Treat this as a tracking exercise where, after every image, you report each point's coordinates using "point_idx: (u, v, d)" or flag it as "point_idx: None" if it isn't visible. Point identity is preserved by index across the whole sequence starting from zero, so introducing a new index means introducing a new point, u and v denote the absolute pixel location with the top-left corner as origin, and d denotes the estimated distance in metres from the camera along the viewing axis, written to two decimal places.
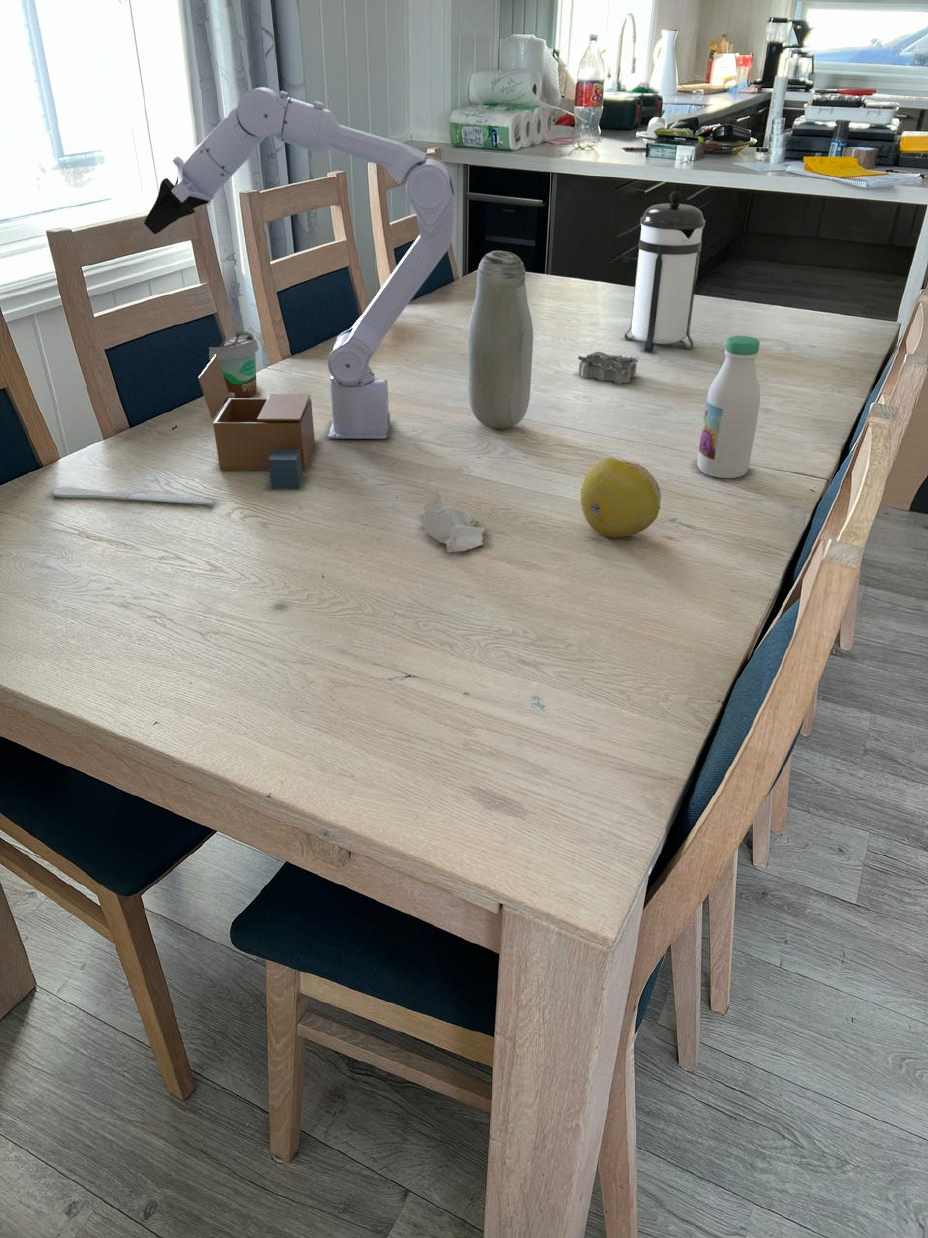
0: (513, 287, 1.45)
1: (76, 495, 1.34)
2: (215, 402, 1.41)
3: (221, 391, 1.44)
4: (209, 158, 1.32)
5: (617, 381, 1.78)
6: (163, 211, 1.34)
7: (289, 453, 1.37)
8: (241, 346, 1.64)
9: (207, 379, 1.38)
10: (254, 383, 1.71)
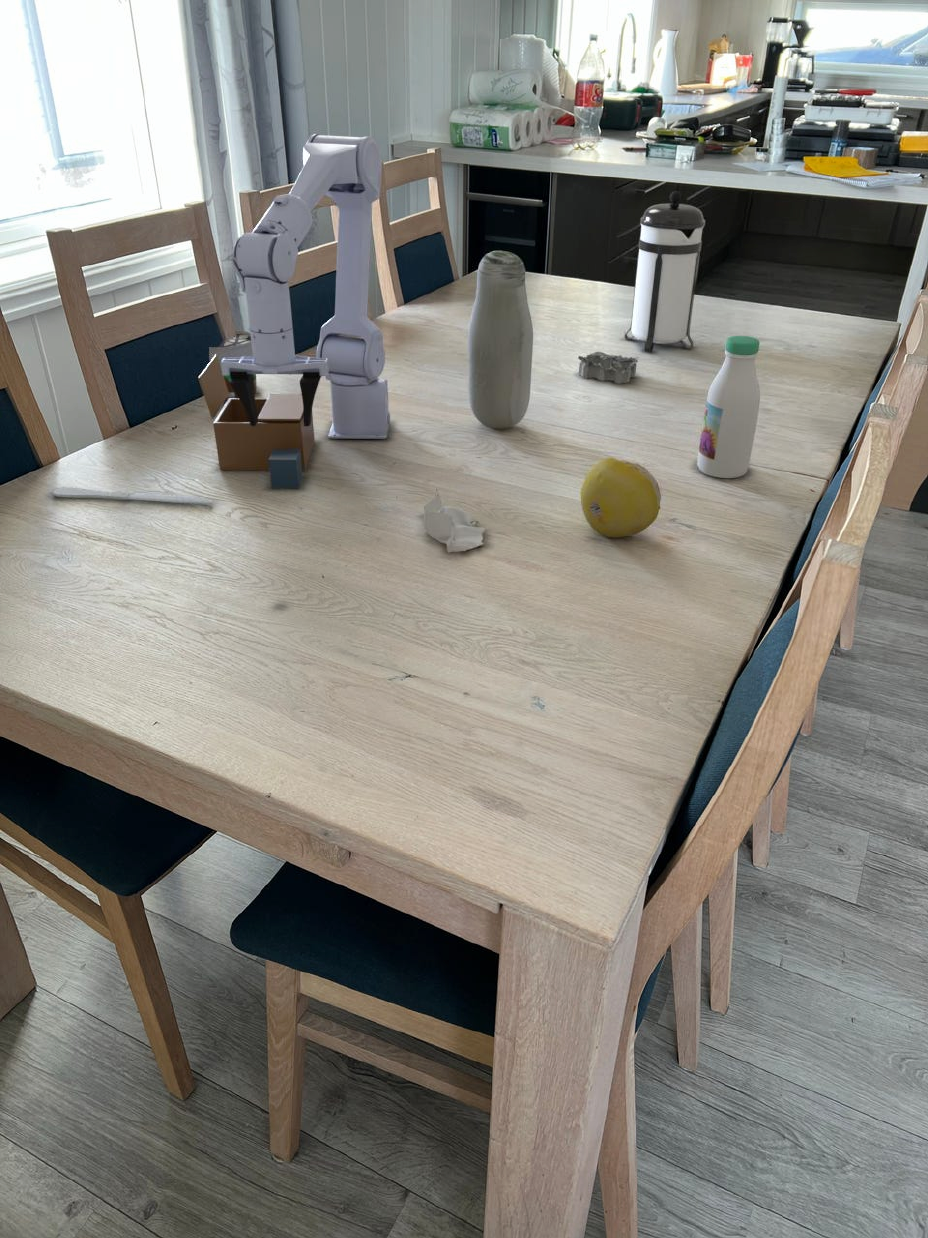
0: (513, 287, 1.45)
1: (76, 495, 1.34)
2: (215, 402, 1.41)
3: (221, 391, 1.44)
4: (291, 331, 1.27)
5: (617, 381, 1.78)
6: None
7: (289, 453, 1.37)
8: (241, 346, 1.64)
9: (207, 379, 1.38)
10: (254, 383, 1.71)
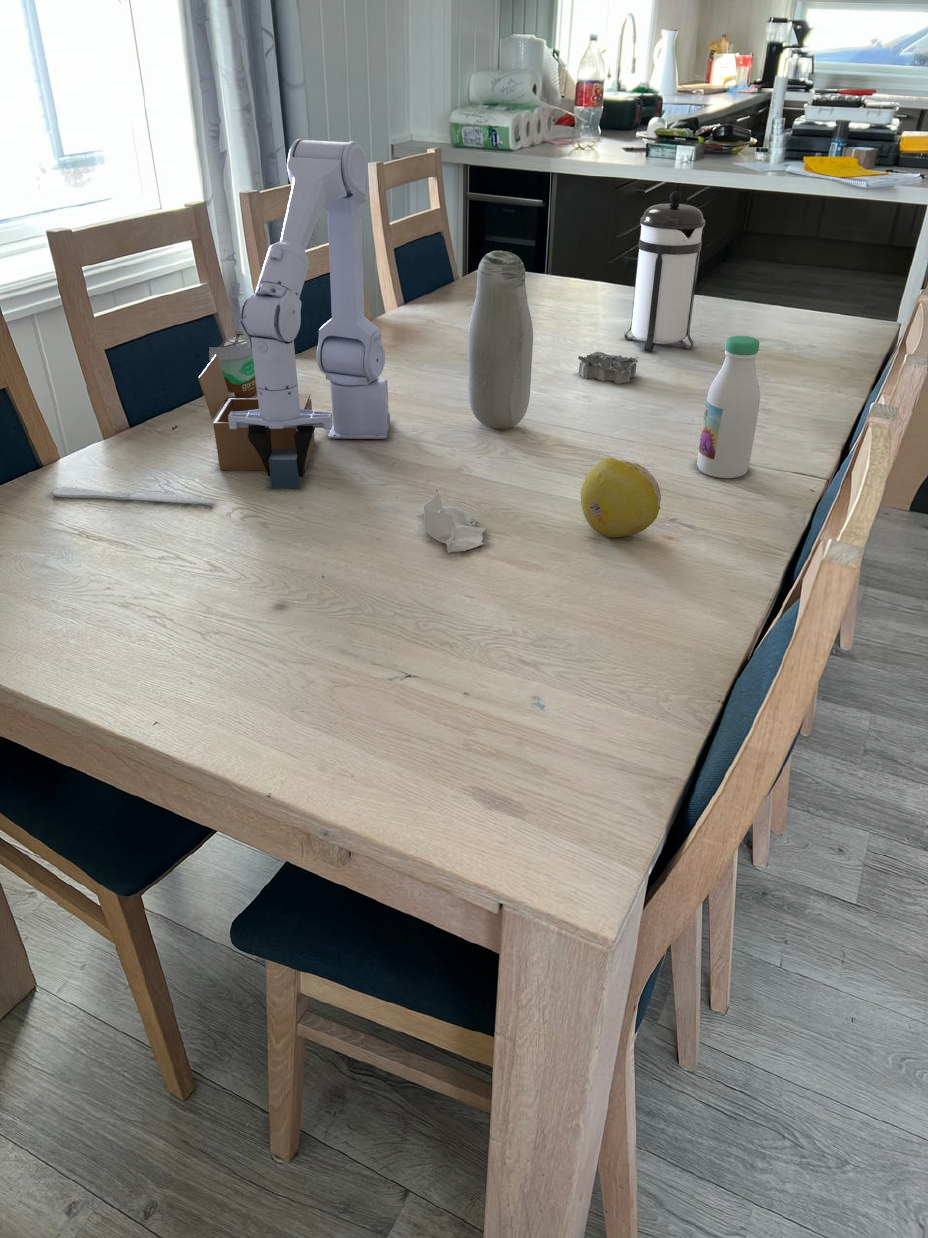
0: (513, 287, 1.45)
1: (76, 495, 1.34)
2: (215, 402, 1.41)
3: (221, 391, 1.44)
4: (296, 387, 1.31)
5: (617, 381, 1.78)
6: None
7: (290, 453, 1.37)
8: (241, 346, 1.64)
9: (207, 379, 1.38)
10: (254, 383, 1.71)
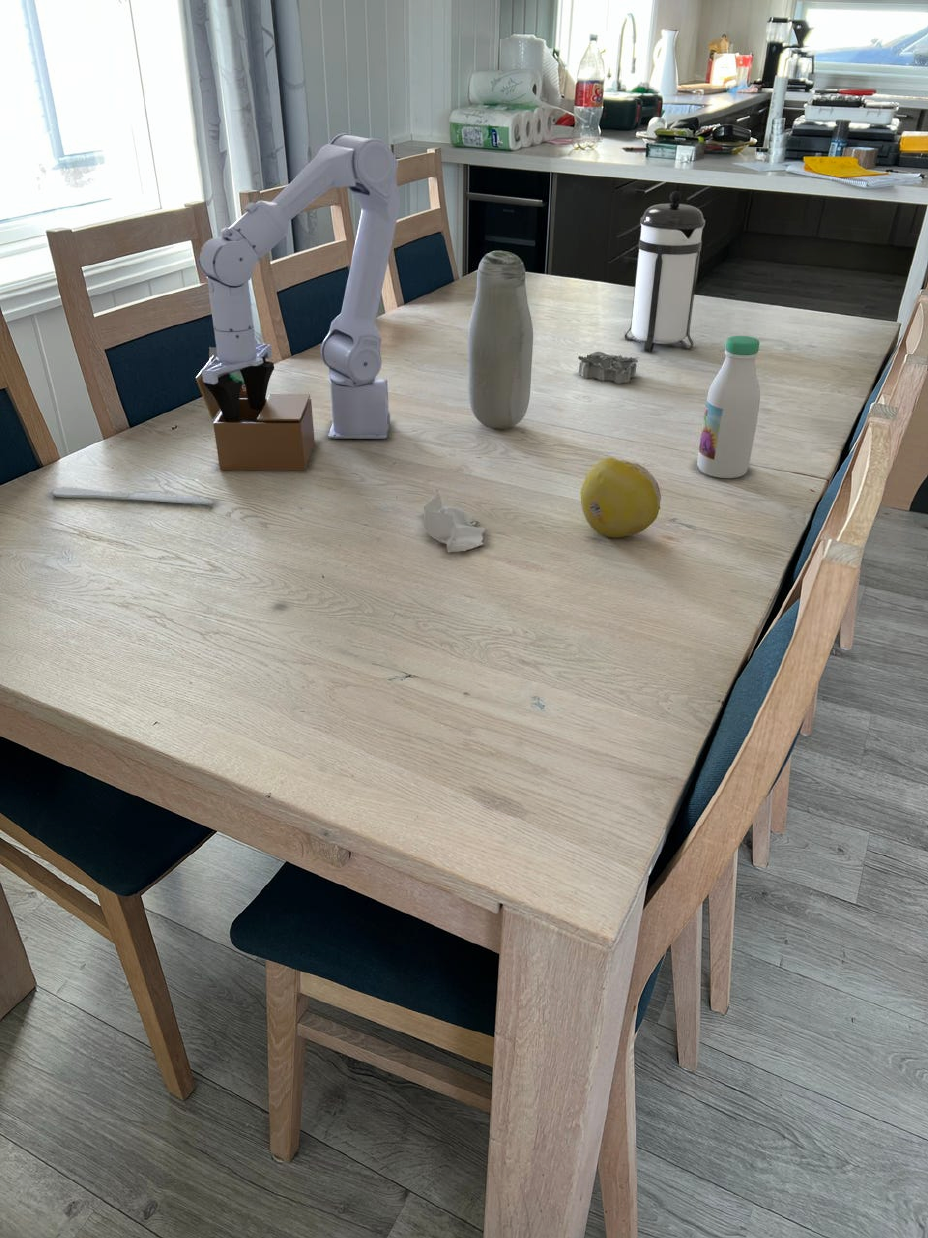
0: (513, 287, 1.45)
1: (76, 495, 1.34)
2: (214, 402, 1.41)
3: None
4: None
5: (617, 381, 1.78)
6: None
7: None
8: None
9: None
10: None
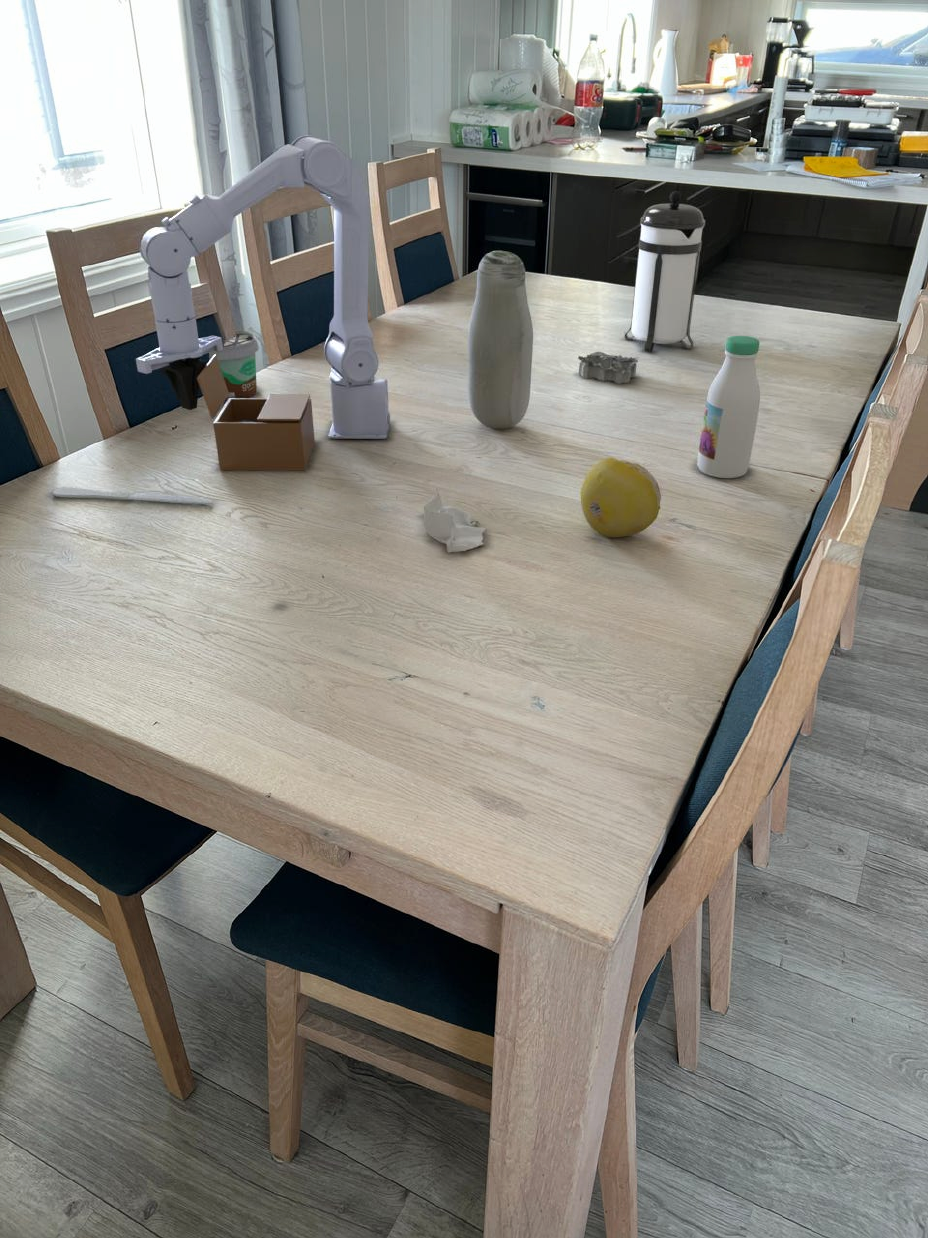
0: (513, 287, 1.45)
1: (76, 495, 1.34)
2: (215, 402, 1.41)
3: (220, 391, 1.44)
4: None
5: (617, 381, 1.78)
6: None
7: None
8: (241, 346, 1.64)
9: (206, 379, 1.38)
10: (254, 383, 1.71)
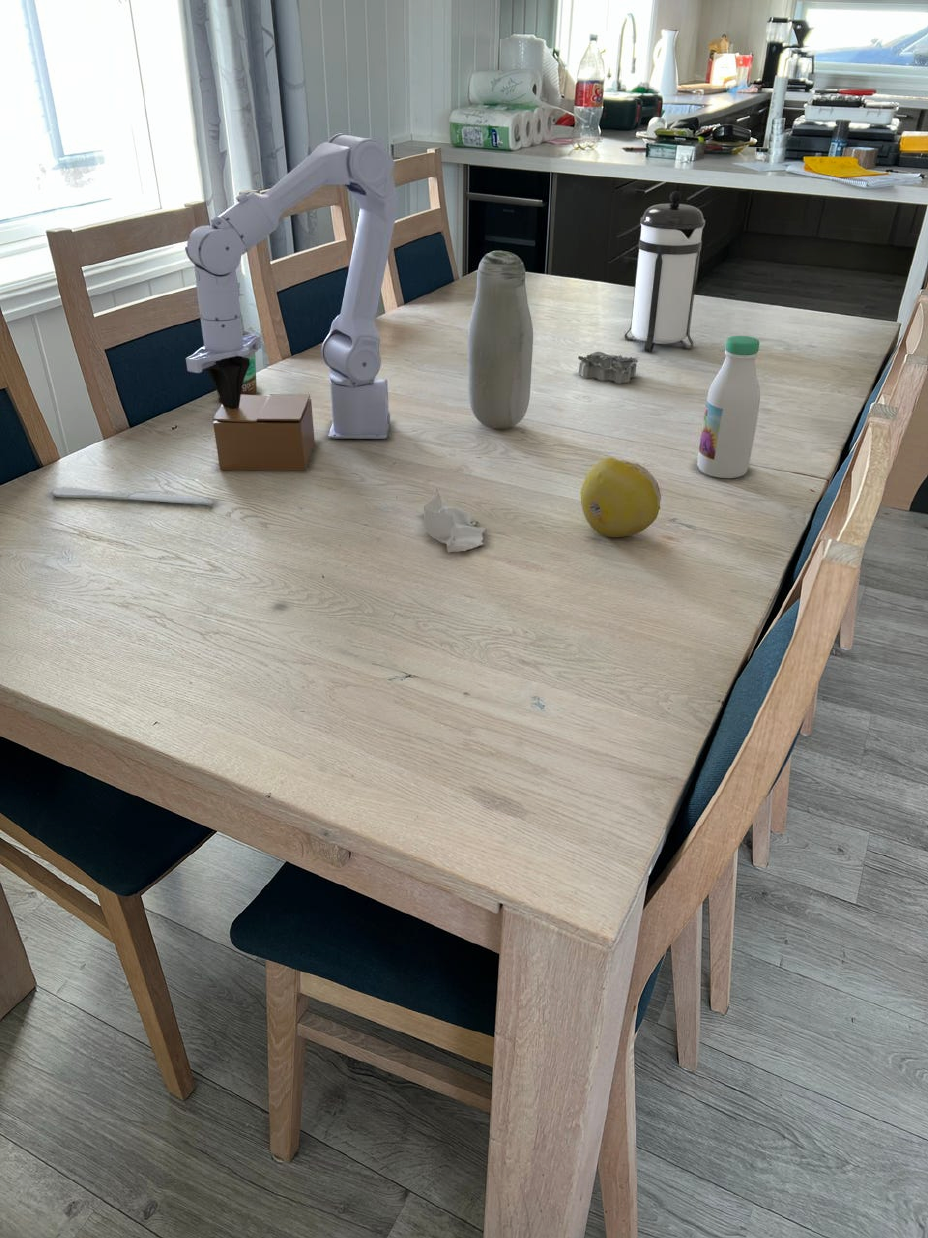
0: (513, 287, 1.45)
1: (76, 495, 1.34)
2: None
3: None
4: None
5: (617, 381, 1.78)
6: None
7: None
8: None
9: None
10: (254, 383, 1.71)
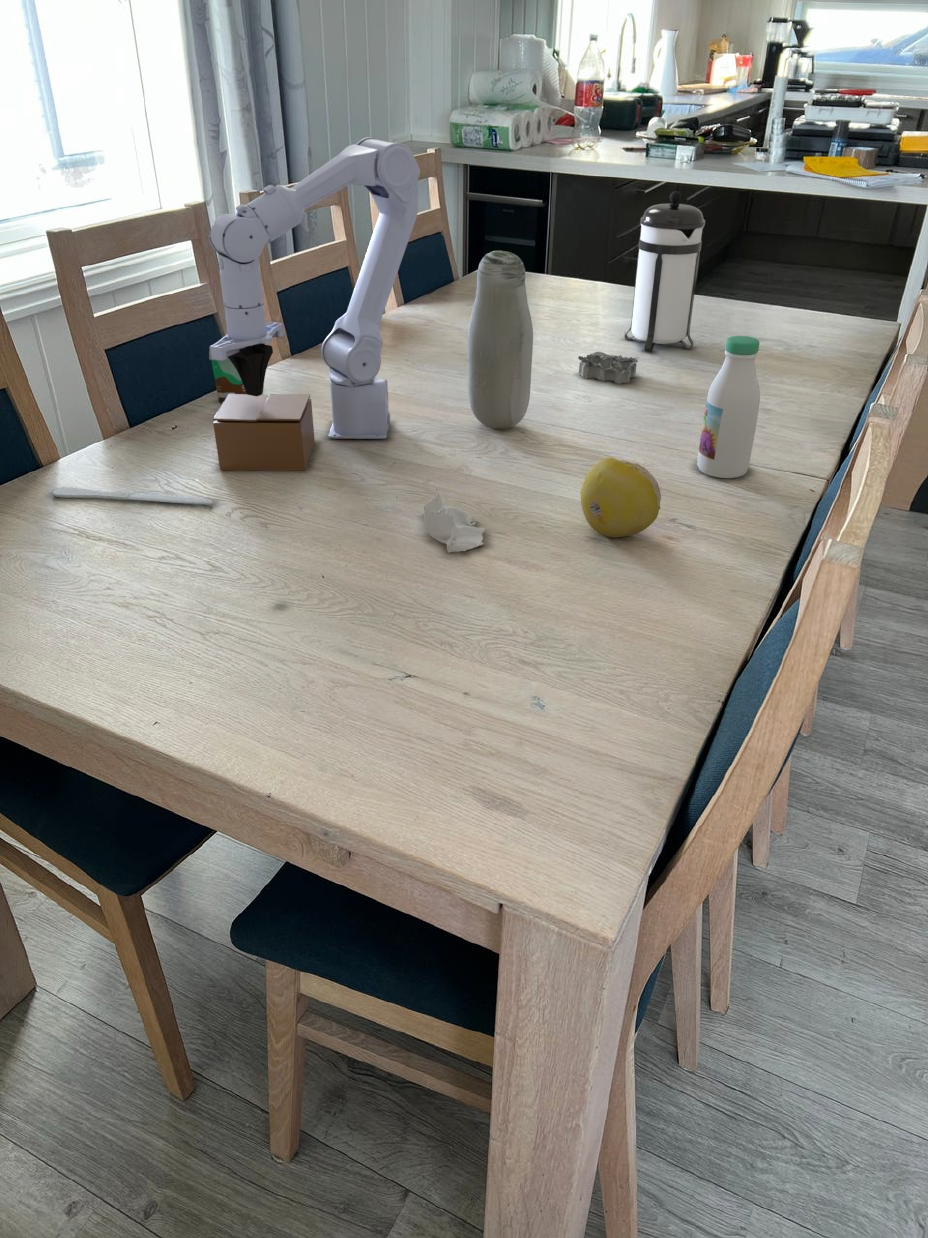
0: (513, 287, 1.45)
1: (76, 495, 1.34)
2: None
3: None
4: None
5: (617, 381, 1.78)
6: None
7: None
8: None
9: None
10: None
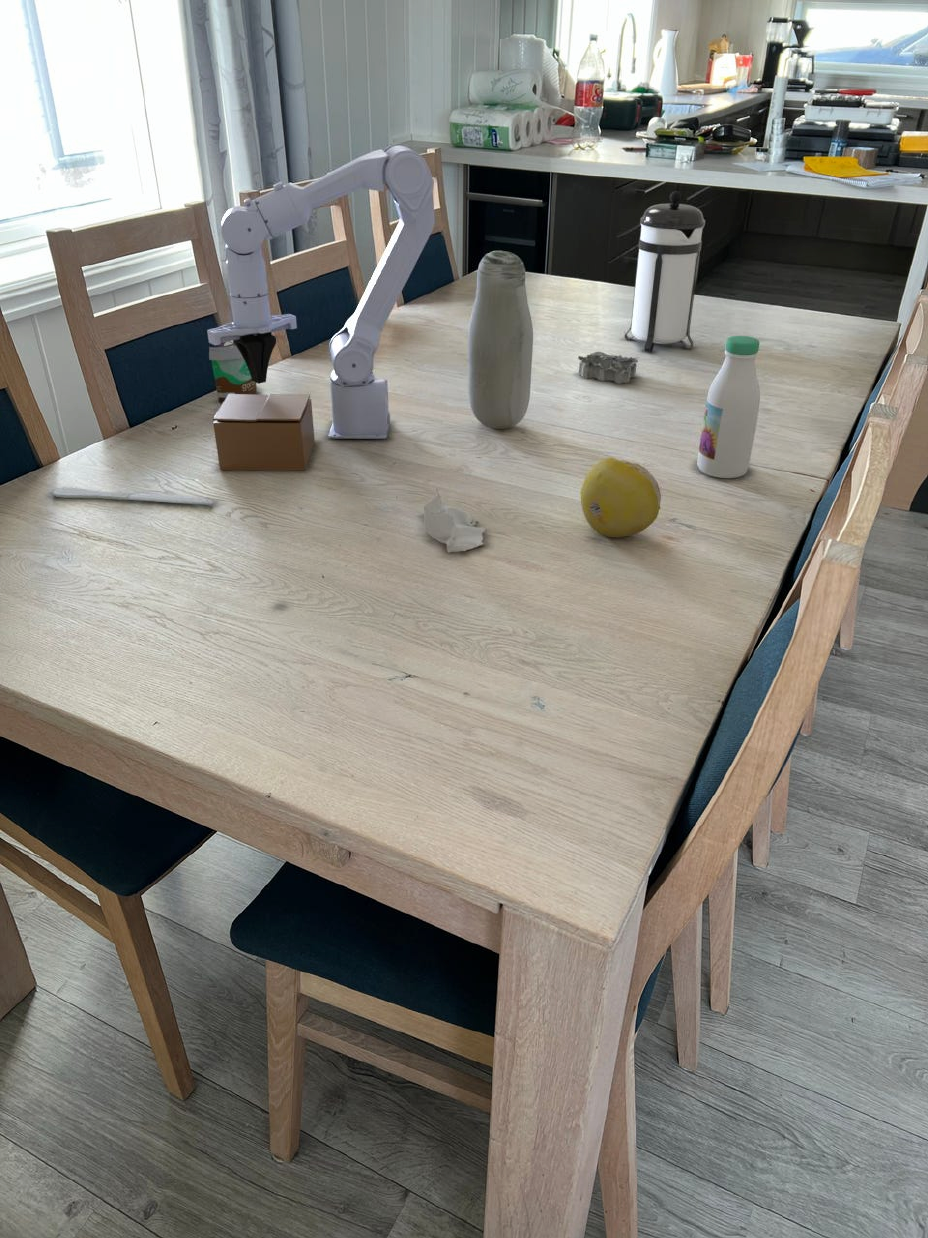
0: (513, 287, 1.45)
1: (76, 495, 1.34)
2: None
3: None
4: None
5: (617, 381, 1.78)
6: None
7: None
8: None
9: None
10: (254, 383, 1.71)
